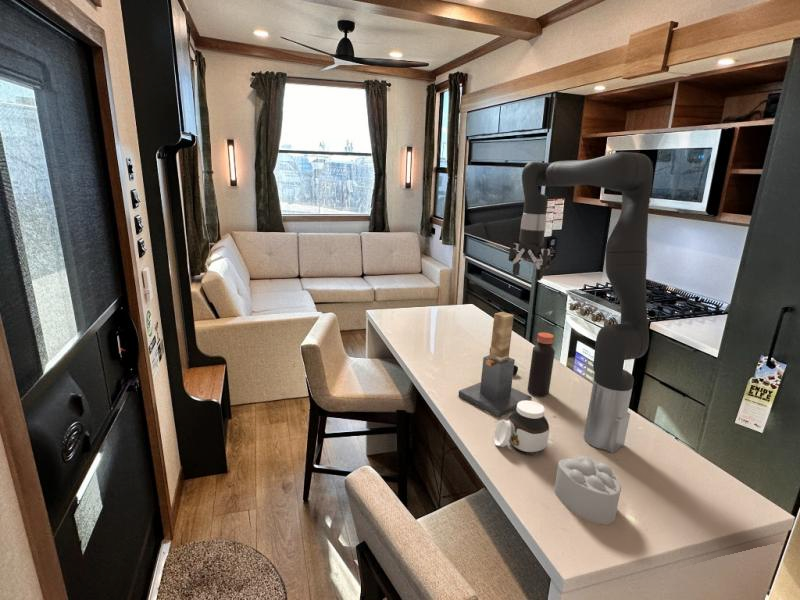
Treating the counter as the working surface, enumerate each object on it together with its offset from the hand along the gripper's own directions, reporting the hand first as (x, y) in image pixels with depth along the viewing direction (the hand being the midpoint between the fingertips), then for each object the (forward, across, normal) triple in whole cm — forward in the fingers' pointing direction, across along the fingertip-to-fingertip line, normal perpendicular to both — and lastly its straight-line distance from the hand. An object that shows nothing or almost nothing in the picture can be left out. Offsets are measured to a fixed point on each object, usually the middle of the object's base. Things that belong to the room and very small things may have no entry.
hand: (526, 277), depth 147 cm
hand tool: (+37, +10, -5) cm, 38 cm away
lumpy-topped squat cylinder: (+36, -48, +38) cm, 71 cm away
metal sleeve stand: (+36, -6, +18) cm, 41 cm away
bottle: (+36, -11, +2) cm, 38 cm away
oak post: (+28, -6, +18) cm, 34 cm away
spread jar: (+36, -26, +33) cm, 56 cm away
